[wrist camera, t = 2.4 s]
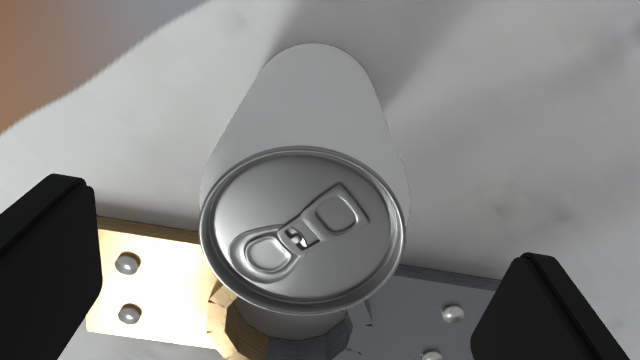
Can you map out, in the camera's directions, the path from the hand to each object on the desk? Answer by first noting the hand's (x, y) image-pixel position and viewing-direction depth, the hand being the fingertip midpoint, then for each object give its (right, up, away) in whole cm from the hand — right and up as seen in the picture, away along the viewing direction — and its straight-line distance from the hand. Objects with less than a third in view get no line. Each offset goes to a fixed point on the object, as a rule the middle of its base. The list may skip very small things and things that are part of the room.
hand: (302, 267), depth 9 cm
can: (0, +6, +13) cm, 14 cm away
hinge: (-2, -6, +19) cm, 20 cm away
